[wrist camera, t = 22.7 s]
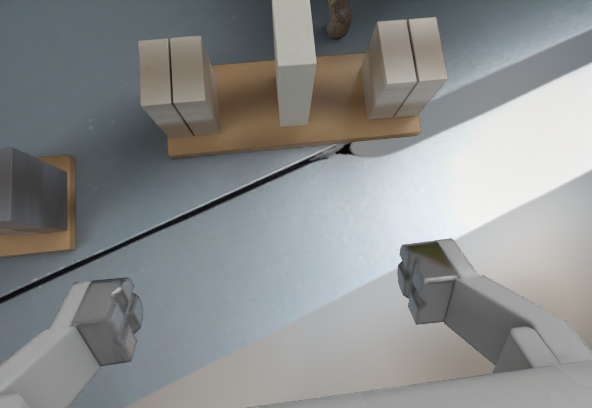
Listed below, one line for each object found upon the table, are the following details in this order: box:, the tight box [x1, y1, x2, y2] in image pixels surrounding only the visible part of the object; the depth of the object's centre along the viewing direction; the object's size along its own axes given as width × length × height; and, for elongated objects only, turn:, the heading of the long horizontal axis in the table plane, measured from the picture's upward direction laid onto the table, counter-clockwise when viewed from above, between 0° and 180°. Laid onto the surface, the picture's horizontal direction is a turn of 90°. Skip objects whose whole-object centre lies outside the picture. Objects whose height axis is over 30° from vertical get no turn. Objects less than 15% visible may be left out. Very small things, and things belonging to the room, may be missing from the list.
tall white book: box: [272, 0, 317, 127], centre depth 28 cm, size 5×2×10 cm, turn 5°
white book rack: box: [138, 17, 448, 159], centre depth 31 cm, size 8×22×8 cm, turn 96°
